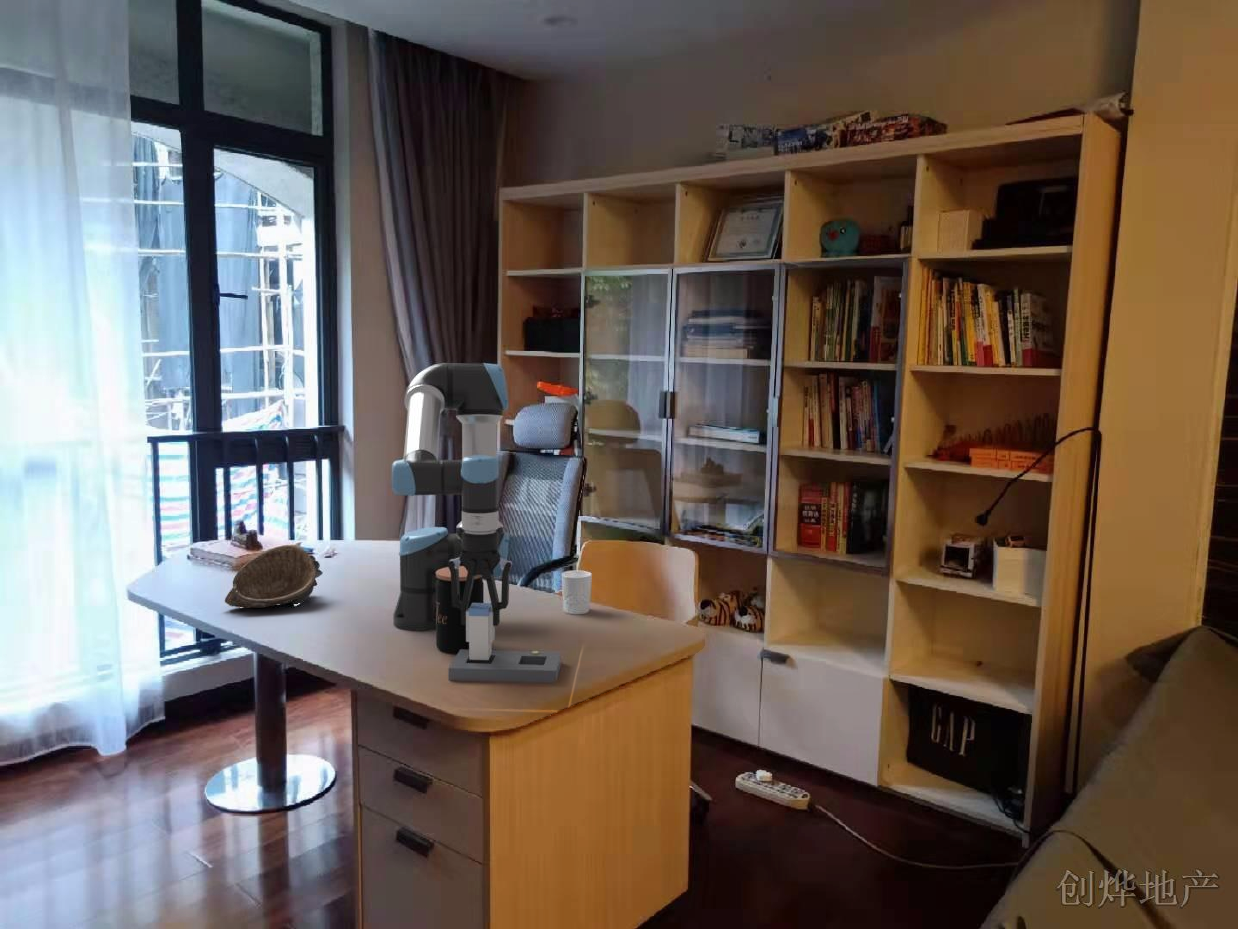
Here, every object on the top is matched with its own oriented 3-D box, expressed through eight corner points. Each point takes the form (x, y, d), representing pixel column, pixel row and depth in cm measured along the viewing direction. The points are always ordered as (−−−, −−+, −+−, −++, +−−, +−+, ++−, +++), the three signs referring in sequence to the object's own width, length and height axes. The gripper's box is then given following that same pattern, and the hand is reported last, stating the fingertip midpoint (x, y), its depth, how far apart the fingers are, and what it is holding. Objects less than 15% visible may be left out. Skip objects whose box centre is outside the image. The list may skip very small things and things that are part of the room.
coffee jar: (438, 641, 213) (438, 566, 211) (485, 641, 214) (484, 565, 212) (433, 656, 202) (432, 577, 200) (482, 656, 203) (482, 577, 201)
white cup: (587, 616, 235) (587, 578, 234) (557, 614, 237) (558, 576, 236) (594, 608, 243) (594, 571, 242) (565, 606, 245) (565, 569, 244)
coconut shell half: (234, 621, 228) (331, 582, 239) (212, 569, 233) (308, 533, 245) (240, 643, 240) (332, 604, 252) (219, 593, 246) (310, 557, 257)
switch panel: (448, 682, 187) (448, 666, 186) (460, 662, 198) (460, 648, 198) (555, 685, 186) (556, 669, 186) (561, 665, 198) (561, 650, 197)
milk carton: (468, 659, 190) (468, 608, 189) (472, 653, 194) (472, 602, 193) (488, 660, 190) (488, 609, 189) (491, 653, 194) (491, 603, 193)
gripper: (434, 533, 185) (435, 644, 188) (519, 535, 185) (518, 646, 188) (442, 526, 193) (443, 633, 196) (523, 528, 192) (523, 635, 195)
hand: (480, 639), depth 192 cm, fingers closed on milk carton, 4 cm apart
